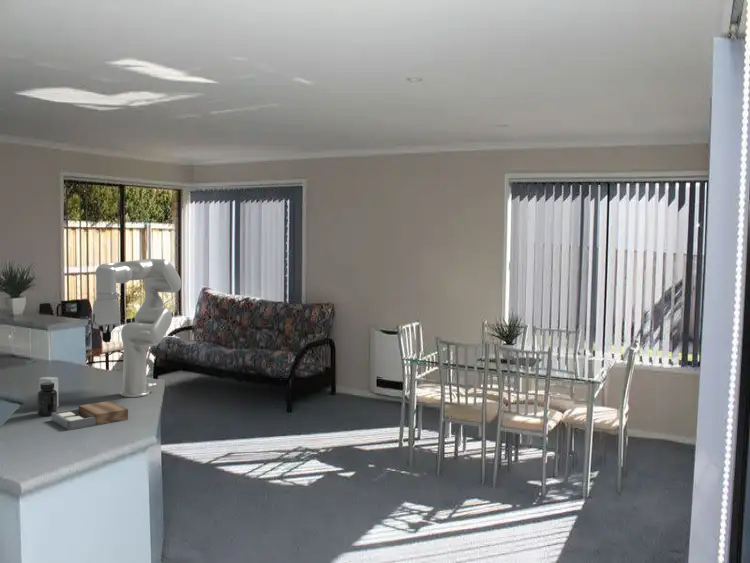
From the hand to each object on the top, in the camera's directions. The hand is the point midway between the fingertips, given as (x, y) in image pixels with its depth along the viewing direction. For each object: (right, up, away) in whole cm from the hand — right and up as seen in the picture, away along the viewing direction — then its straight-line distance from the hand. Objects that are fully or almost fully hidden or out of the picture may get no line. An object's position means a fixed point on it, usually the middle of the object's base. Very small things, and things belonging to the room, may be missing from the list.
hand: (106, 341), depth 265 cm
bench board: (+5, -28, -15) cm, 32 cm away
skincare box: (-22, -26, -3) cm, 35 cm away
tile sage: (-1, -26, -26) cm, 37 cm away
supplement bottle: (-18, -27, -13) cm, 35 cm away
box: (-3, -28, -23) cm, 36 cm away
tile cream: (-7, -25, -21) cm, 33 cm away
